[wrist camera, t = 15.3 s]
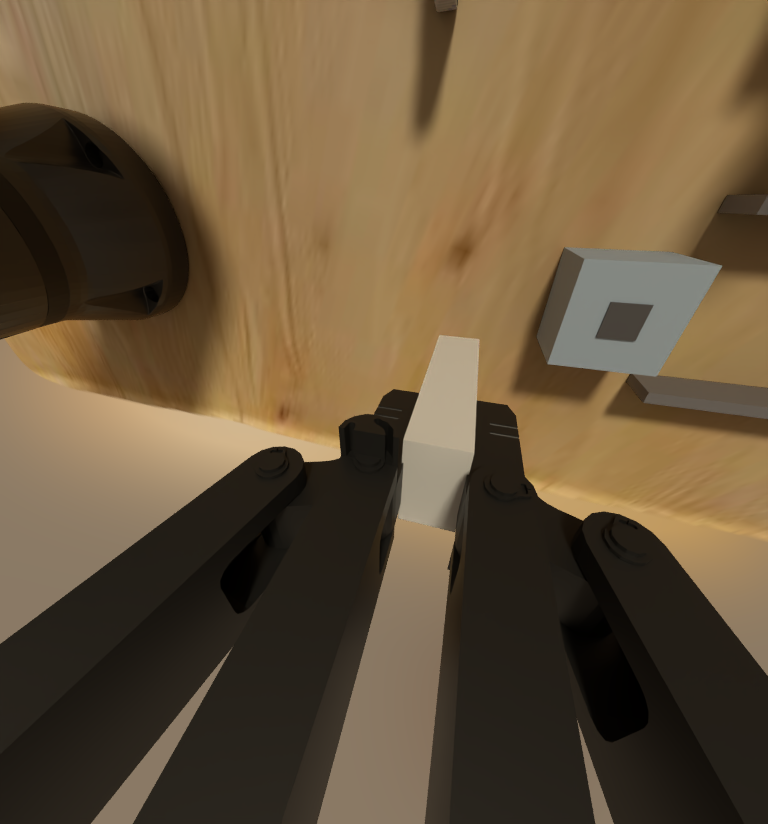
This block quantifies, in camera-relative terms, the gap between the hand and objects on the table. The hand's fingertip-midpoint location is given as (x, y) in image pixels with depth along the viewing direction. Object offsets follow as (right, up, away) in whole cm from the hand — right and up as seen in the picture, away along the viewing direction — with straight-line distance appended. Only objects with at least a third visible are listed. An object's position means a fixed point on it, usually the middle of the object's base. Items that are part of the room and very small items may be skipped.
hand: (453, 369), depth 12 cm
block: (+12, +6, +9) cm, 16 cm away
